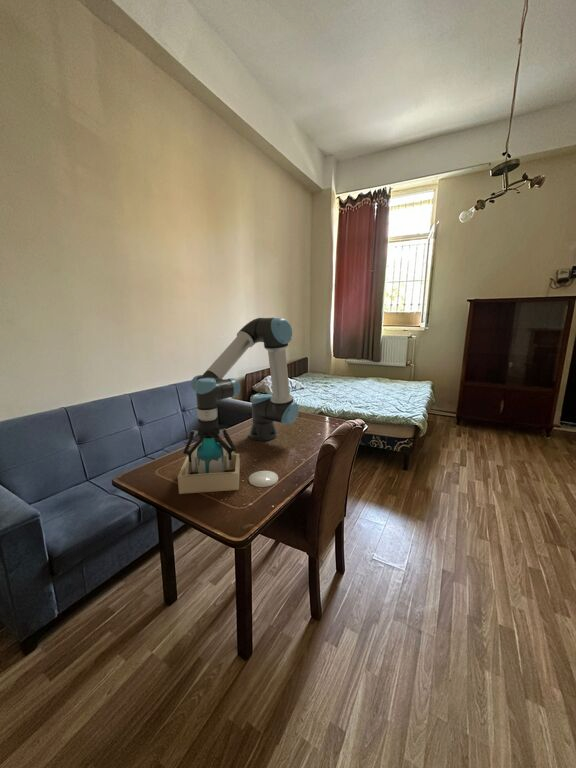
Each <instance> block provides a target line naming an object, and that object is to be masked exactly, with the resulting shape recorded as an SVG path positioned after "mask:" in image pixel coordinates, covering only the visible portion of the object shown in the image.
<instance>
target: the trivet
mask: <svg viewBox="0 0 576 768" xmlns="http://www.w3.org/2000/svg"><path fill="white" fill-rule="evenodd" d="M278 481H279V476H278V474H277V473H275V472H274V471H270V470H258V471H255V472H253V473H251V474H250V475H249V477H248V483H250V485H251V486H253V487H257V488H268V487H272V486H274V485H275V484H277V482H278Z"/></svg>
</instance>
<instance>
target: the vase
mask: <svg viewBox="0 0 576 768" xmlns="http://www.w3.org/2000/svg"><path fill="white" fill-rule="evenodd" d="M197 468H198V472H197V474H207V473H223V472H225V470H224V453H223V447H222V446H221V445H220V444H219V443H218V442H216V441H215V440H214V438H203V441H202V442H201V443H200V444H199V447H198V449H197Z"/></svg>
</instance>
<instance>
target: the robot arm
mask: <svg viewBox="0 0 576 768" xmlns="http://www.w3.org/2000/svg"><path fill="white" fill-rule="evenodd" d="M292 337H293V327H292V326H291V324H290V322H289V321H288V320H287V319H285V318H282V317H257V318H255V319H252V320H250V321H249V322H248V323H246V324H245V325H244V326H243V327H241V329H239V331H237V333H236V337H235V338H234V340H232V342H231V343H230V344H229V345H228V346H227V347H226V348H225V349H224V351H223V352H221V354H220V355H219V356H218V357H217V358H216V359H215V361H214V362H213V363H212V364H211V365H210V366H209V367H208V368H207V369H206V370H205V372H203V373H202V375H201V374H198V375H196V376H194V377H193V378H192V379H191V388H192V390H193V391H194V392H195V397H196V406H197V407H196V408H197V418H198V420H197V422H198V430H195V429H191V430H190V433H189V434H190V436H189V439H188V441H187V443H186V445H185V448H184V450H183V451H182V452H183V454H184V455H188V457H189V462H192V471H194V470H195V456H194V453H193V452H194V450H195V449H196V448H197V447H198V446H200V445H201V444H202V441H203V438H214V440H215V441H216V442H218V443H219V444H220V445H221V446H222V447H223V448H224V449H225V450H226V451H227V452H226V458H227V469H229V460H231V459H232V452H233V451H234V452H236V450H237V449H236V448H237V447H236V445H235V443H234V442H233V440H232V439H231V437H230V435H229V434H228V429H227V428H226V427H224V428H223V429H220V428H219V413H218V412H219V410H218V402H219V401H221V400H226V399H229V398H233V397H235V396H238V395H239V394H240V392H241V385H240V382H239V380H238V379H236V378H234V377H233V378H227V379H226V378H225V376H226V375H227V374H228V372H229V371H230V370H231V369H232V367H233V366H234V365H235V364H236V363H237V362H238V361H239V359H240V358H242V356H243V355H244V354H245V353H246V351H247V350H248V349H250V348H252V347H254V345H255V344H257V343H263V347H264V349H265V350H266V351H267V355H268V364H269V371H270V381H271V389H272V394H271V393H265V394H264V393H263V394H257V395H255V396H253V397H252V398H251V413H252V414H251V418H252V423H251V427H250V431H249V438H250V439H252V440H254V441H261V442H263V441H264V442H265V441H266V442H267V441H271V440H274V439H275V438H277V436H278V431H277V428H276V425H275V422H277V423H279V424H280V423H281V424H283V425H290V424H293V423H294V422H295V421H296V420H297V418H298V415H299V411H300V410H299V409H300V408H299V404H298V403H297V402H295V401H294V396H293V395H292V394H290V384H289V382H290V381H289V373H288V372H289V371H288V362H287V361H288V360H287V352H286V351H287V348H288V346H289V343H290V342H291V340H292ZM223 378H225V379H223ZM220 434H221V435H222V436H223V437H224V439H225V440H226V442H227V443H226V442H225V441H224V439H222V438H221V436H219V435H220ZM197 435H198V436H199V437H198V440H196V442H195V443H194V444H193V446H192V447H191V448H190V446H191V443H192V442H193V440H194V438H195V437H196V436H197ZM228 445H230V447H231V448H230V447H229V446H228ZM189 448H190V449H189Z"/></svg>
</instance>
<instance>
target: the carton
mask: <svg viewBox="0 0 576 768" xmlns="http://www.w3.org/2000/svg"><path fill="white" fill-rule="evenodd" d="M227 445H228V446H229V447H230V445H229V444H227ZM199 446H200V445H199ZM199 446H198V447H199ZM198 447H197V448H196V449H195V450H194V452H193V453H194V456H195V470H194V471H192V462H189V457H188V456H186V458H185V459H184V462H183V464H182V467H180V471H179V473H178V474H177V485H178V494H179V495H182V494H195V493H196V494H197V493H211V492H222V491H223V492H224V491H225V492H226V491H239V489H240V473H241V472H240V471H241V462H240V459H241V458H240V453H235V451H233V452H232V459H231V460H229V469H227V458H226V452H227V451H226V450H225V449H224V448H223V453H224V472H223V473H207V474H198V468H197V449H198ZM230 448H231V447H230ZM226 471H227V472H226ZM191 473H193V474H191Z"/></svg>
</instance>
